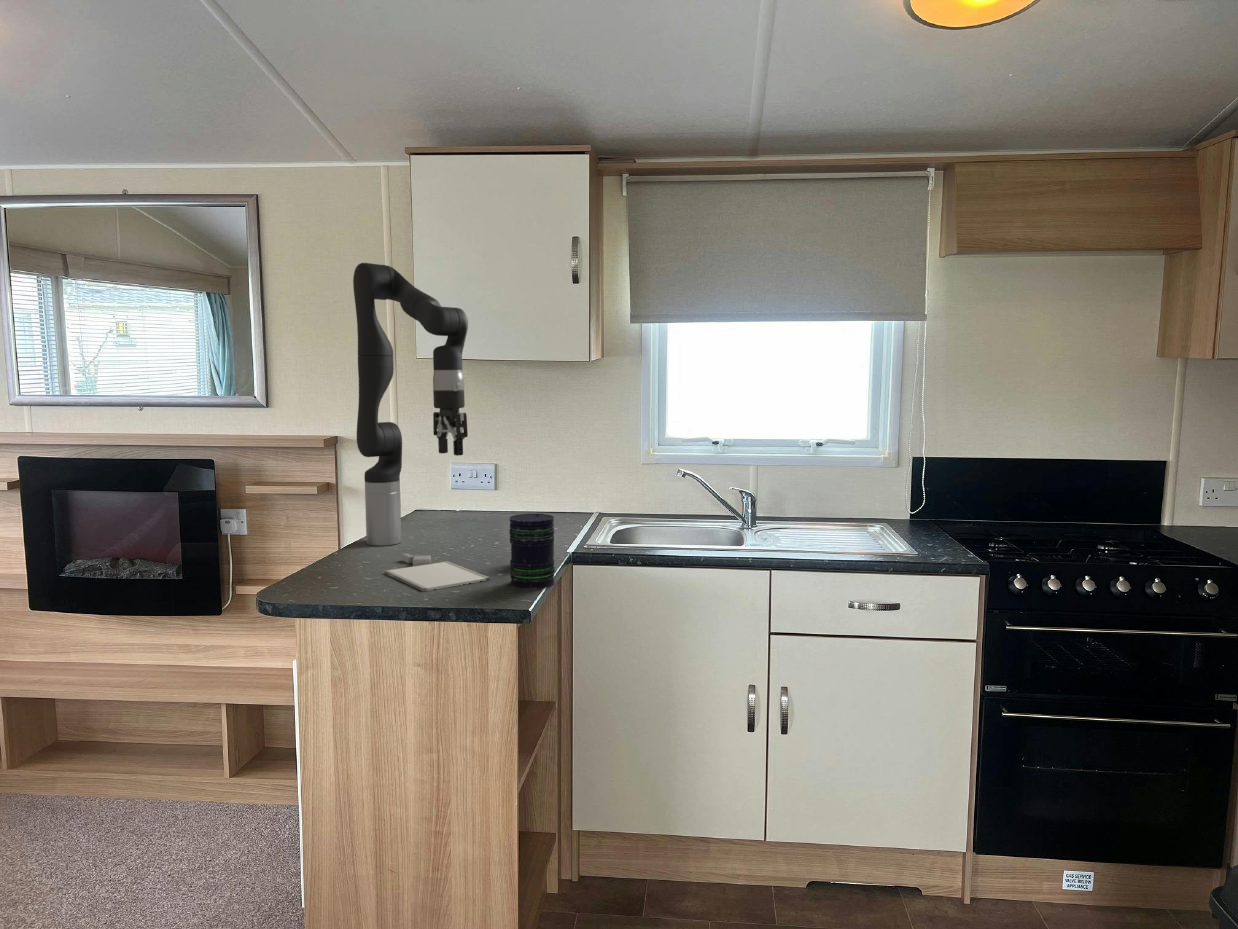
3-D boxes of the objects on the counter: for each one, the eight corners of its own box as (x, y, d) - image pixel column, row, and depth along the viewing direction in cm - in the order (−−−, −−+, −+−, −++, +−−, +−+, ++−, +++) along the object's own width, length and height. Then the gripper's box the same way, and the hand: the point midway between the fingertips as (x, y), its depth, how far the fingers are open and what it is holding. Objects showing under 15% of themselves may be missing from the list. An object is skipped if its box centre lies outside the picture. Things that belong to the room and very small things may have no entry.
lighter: (430, 566, 202) (431, 559, 210) (430, 559, 202) (431, 552, 210) (400, 567, 201) (402, 560, 208) (400, 560, 201) (401, 553, 208)
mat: (384, 573, 194) (384, 570, 194) (447, 564, 204) (447, 561, 204) (423, 591, 178) (423, 588, 178) (489, 580, 188) (489, 577, 188)
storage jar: (542, 591, 178) (541, 522, 177) (501, 587, 182) (500, 519, 180) (562, 580, 188) (561, 515, 186) (523, 577, 191) (522, 512, 190)
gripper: (422, 389, 209) (424, 453, 211) (447, 388, 198) (449, 456, 200) (449, 388, 214) (451, 451, 215) (475, 388, 202) (477, 455, 204)
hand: (450, 454), depth 207 cm, fingers open, 8 cm apart
